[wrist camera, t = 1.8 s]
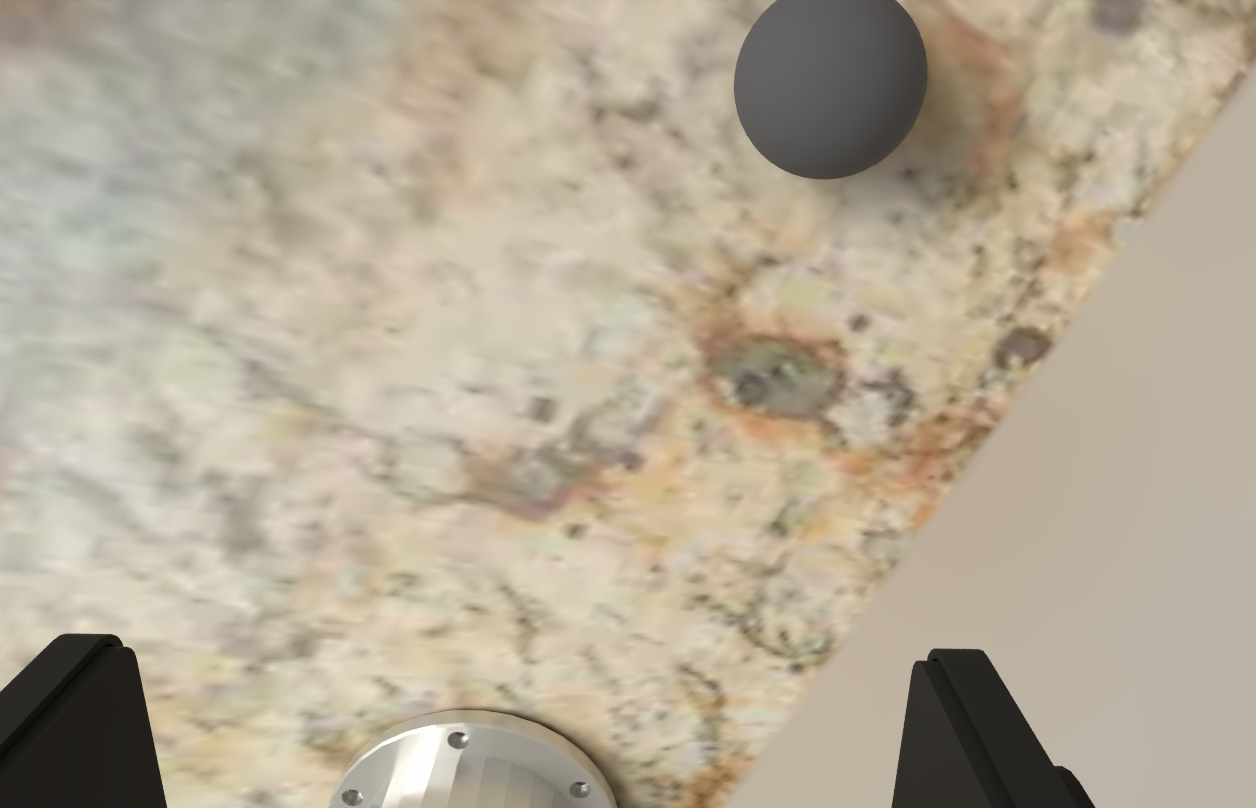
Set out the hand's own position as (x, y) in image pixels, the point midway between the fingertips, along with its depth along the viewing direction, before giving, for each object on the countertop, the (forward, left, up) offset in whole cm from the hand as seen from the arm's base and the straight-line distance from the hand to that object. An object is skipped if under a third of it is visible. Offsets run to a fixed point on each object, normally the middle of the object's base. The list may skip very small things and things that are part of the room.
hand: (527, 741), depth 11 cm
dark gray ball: (+7, -7, -19) cm, 22 cm away
